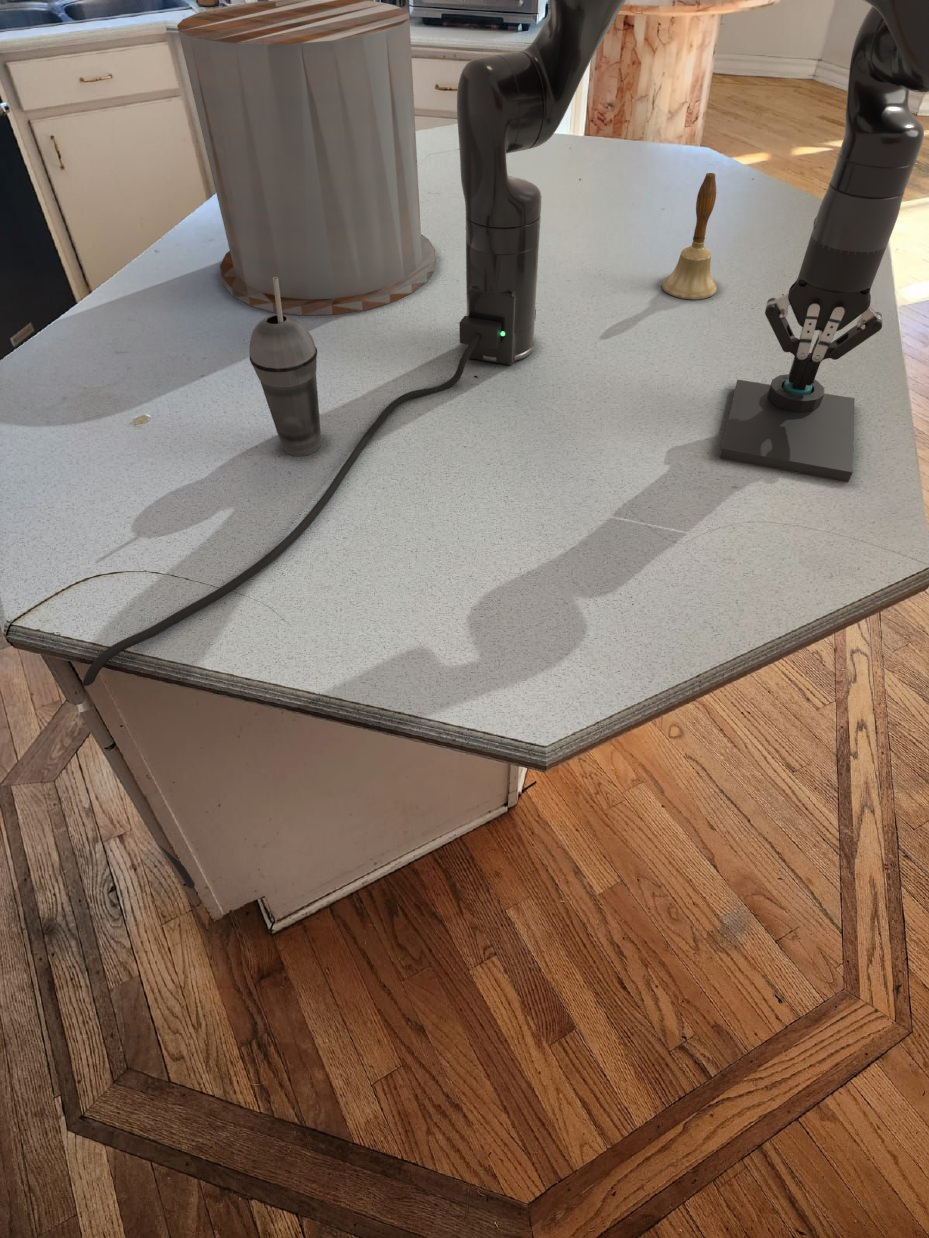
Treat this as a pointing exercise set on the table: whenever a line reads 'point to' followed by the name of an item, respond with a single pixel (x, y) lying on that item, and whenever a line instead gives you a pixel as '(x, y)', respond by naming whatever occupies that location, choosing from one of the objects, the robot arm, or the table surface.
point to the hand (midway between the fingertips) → (798, 385)
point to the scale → (791, 429)
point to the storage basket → (311, 151)
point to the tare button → (788, 388)
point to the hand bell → (695, 253)
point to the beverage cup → (288, 378)
